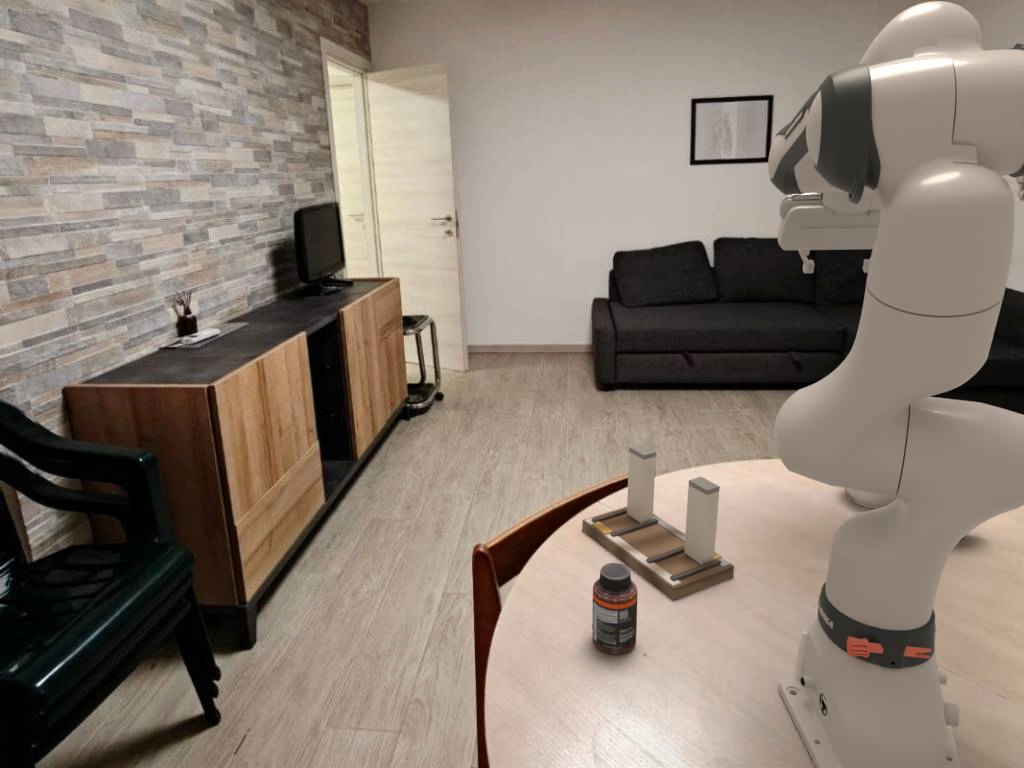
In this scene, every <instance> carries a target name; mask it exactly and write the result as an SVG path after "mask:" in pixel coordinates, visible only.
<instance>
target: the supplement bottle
mask: <svg viewBox="0 0 1024 768" xmlns="http://www.w3.org/2000/svg"><path fill="white" fill-rule="evenodd" d="M631 572H632V571H631V569H630V568H629V566H628V565H625V564H622V563H618V562H610V563H605V564H604V565H602V566H601V568H600V570H599V574H600V575H599V578H598V579H597V580H596V581H594V583H593V587H592V625H591V629H592V633H591V634H592V641H593V644H594V645H595V647H596V648H597V649H598V650H599V651H600V652H604V653H607V654H611V655H622V654H626V653H628V652H630V651H632V650H633V649H634V647H635V646H636V643H637V642H636V641H637V628H638V627H637V624H638V623H637V621H638V587H637V585H636V583H635V582H634V581H633V579H632V578H631V576H632V575H631Z"/></svg>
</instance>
